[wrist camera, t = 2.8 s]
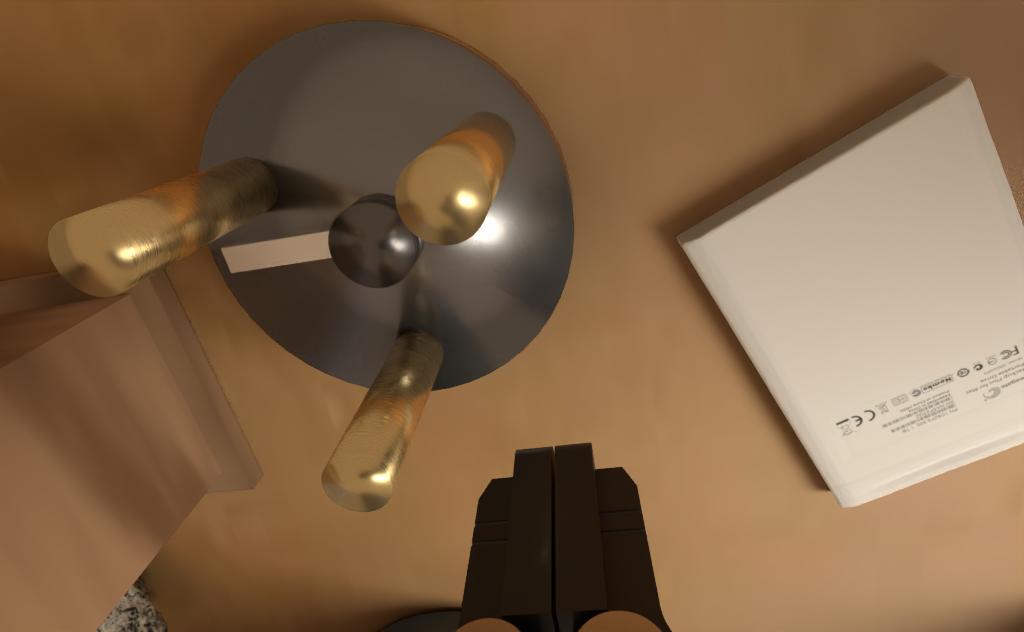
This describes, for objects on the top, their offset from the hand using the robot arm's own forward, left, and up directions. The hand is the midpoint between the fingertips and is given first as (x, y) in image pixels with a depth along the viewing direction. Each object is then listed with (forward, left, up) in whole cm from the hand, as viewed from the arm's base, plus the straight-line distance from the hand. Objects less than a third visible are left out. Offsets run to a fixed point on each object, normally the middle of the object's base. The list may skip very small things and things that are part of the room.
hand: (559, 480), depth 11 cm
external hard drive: (-10, +2, -9) cm, 14 cm away
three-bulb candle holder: (+5, -4, -9) cm, 10 cm away
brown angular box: (+18, +1, -9) cm, 20 cm away
